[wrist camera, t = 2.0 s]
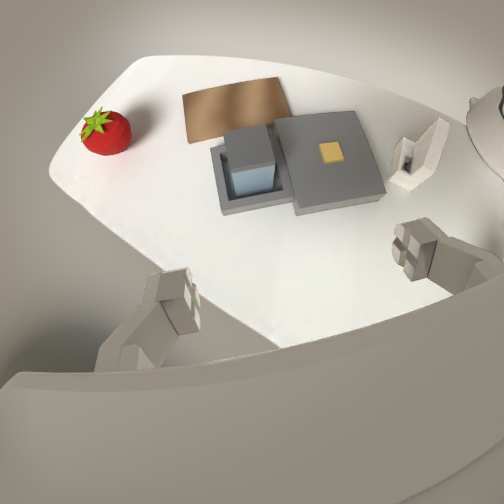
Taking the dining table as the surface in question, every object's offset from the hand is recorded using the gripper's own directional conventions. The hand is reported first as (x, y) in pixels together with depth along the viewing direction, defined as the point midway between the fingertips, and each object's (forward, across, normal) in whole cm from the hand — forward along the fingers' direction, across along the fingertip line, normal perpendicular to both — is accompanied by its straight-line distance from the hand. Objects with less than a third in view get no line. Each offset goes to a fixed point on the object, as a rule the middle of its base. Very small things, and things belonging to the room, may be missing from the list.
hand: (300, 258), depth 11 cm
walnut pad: (+33, 0, -1) cm, 33 cm away
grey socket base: (+25, -6, +6) cm, 26 cm away
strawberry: (+32, +17, 0) cm, 36 cm away
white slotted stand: (+24, -21, +8) cm, 33 cm away
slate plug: (+25, 0, +6) cm, 26 cm away
